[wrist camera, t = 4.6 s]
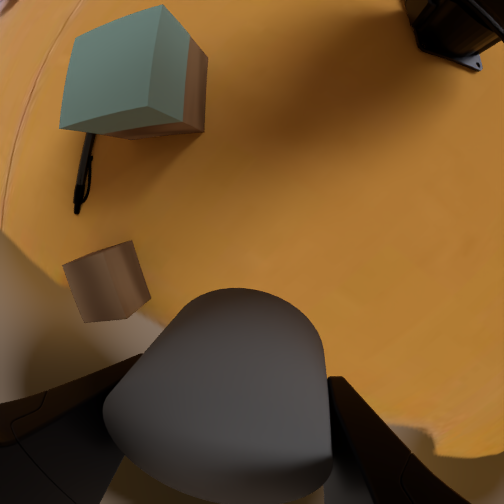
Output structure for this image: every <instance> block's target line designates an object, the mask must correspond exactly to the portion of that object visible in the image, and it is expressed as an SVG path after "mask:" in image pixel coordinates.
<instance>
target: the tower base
mask: <svg viewBox="0 0 504 504" xmlns="http://www.w3.org/2000/svg"><path fill="white" fill-rule="evenodd" d="M207 67H208V57H207V56H206V55H205V53H204V52H203V51H202V50H201V49H200V47H199V46H198V45H197V44H196V42H195V41H194V40H193V39H192V38H191V37H190V41H189V50H188V59H187V69H186V80H185V93H184V108H183V122H176V123H168V124H160V125H152V126H146V127H139V128H133V129H127V130H122V131H116V132H111V133H106V134H102V135H107V136H113V137H118V138H124V139H129V140H135V139H142V138H149V137H157V136H166V135H175V134H186V133H199V132H204V123H205V100H206V82H207Z"/></svg>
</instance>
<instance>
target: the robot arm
mask: <svg viewBox="0 0 504 504" xmlns="http://www.w3.org/2000/svg"><path fill="white" fill-rule="evenodd" d="M405 1H406V4H405V6H406V10H407V13H408V17H409V20H410V24H411V26H412V27H413V29H414V33H415V38H416V42H417V46H418V48H419V49H420V50H421V51H423V52H426V53H429V54H432V55H435V56H439V57H442V58H444V59H447V60H450V61H453V62H456V63H458V64H461V65H463V66H466V67H468V68H471V69H473V70H475V71H478V72H479V71H481V70H482V69H483V68H482V63H481V59H480V55H479V54H480V53H482V52H483V51H485V50H487V49H488V48H490V47H491V46H493V45H495V44H496V43H498V42H500V41H501V40H502V41H503V43H504V0H405ZM422 44H423V45H424V46H425V47H426V48H425V47H423V46H422ZM142 355H143V354H138V355H136V356H133V357H131V358H129V359H126V360H124V361H121V362H119V363H116V364H114V365H112V366H109V367H107V368H104V369H102V370H99V371H97V372H94V373H92V374H89V375H87V376H84V377H81V378H79V379H76V380H73V381H71V382H68V383H65V384H63V385H60V386H57V387H55V388H52V389H49V390H48V391H43V392H41V393H38V394H35V395H32V396H28V397H25V398H22V399H18V400H14V401H10V402H5V403H1V404H0V504H100V502H101V500H102V498H103V496H104V494H105V492H106V490H107V488H108V486H109V484H110V482H111V480H112V478H113V476H114V474H115V473H116V471H117V469H118V467H119V465H120V463H121V461H122V459H123V457H124V455H125V454H124V453H123V452H122V451H121V450H120V449H119V448H118V446H117V445H116V444H115V442H114V441H113V439H112V438H111V436H110V434H109V432H108V430H107V428H106V426H105V422H104V419H103V404H104V402H105V399H106V397H107V396H108V395H109V394H110V392H111V391H112V390H113V389H114V388H115V386H116V385H117V384H118V383H119V382H120V381H121V379H122V378H123V377H124V376H125V375H126V373H127V372H128V371H129V370H130V369H131V368H132V366H133V365H134V364H135V363H136V362H137V361H138V359H139V358H140V357H141V356H142ZM327 385H328V396H329V407H330V420H331V435H332V452H333V469H332V472H331V475H330V476H329V478H328V479H327V481H326V482H325V483H324V484H323V486H324V503H325V504H471V503H470V502H469V501H467V500H466V499H465V498H463V497H462V496H460V495H459V494H458V493H456V492H455V491H454V490H453V489H451V488H450V487H449V486H447V485H446V484H445V483H444V482H443V481H441V480H440V479H439V478H438V477H437V476H435V475H434V474H433V473H432V472H431V471H430V470H429V469H428V468H427V467H426V466H425V465H424V464H423V463H422V462H421V461H420V460H419V459H418V458H417V457H416V456H415V455H414V454H413V453H411V450H410V449H409V448H408V447H407V446H406V445H405V444H404V443H403V442H402V441H401V440H400V439H399V438H398V436H396V434H395V433H394V432H393V431H392V430H391V429H390V428H389V427H388V426H387V425H386V423H385V422H384V421H383V420H382V419H381V418H380V417H379V416H378V415H377V414H376V413H375V411H374V410H373V409H372V408H371V407H370V406H369V405H368V404H367V403H366V402H365V401H364V399H363V398H362V397H361V396H360V395H359V394H358V393H357V392H356V391H355V389H354V388H353V387H352V386H351V385H350V384H349V383H348V382H347V381H346V379H345V378H344V377H342V376H330V377H328V379H327Z"/></svg>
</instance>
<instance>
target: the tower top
mask: <svg viewBox="0 0 504 504" xmlns="http://www.w3.org/2000/svg"><path fill="white" fill-rule="evenodd" d="M189 41H190V35H189V33H188V32H187V31H186V30H185V29H184V28H183V26H182V25H181V24H180V23H179V22H178V21H177V20H176V18H175V17H174V16H173V15H172V14H171V13H170V12H169V11H168V10H167V8H166V7H165V6H164V5H159V6H155V7H152V8H149V9H145V10H142V11H139V12H136V13H133V14H130V15H128V16H125V17H122V18H120V19H117V20H114V21H112V22H109V23H107V24H105V25H102V26H100V27H98V28H95V29H93V30H91V31H89V32H87V33H85V34H83V35H81V36H79V37H77V38H75V42H74V46H73V49H72V53H71V58H70V62H69V67H68V71H67V76H66V82H65V87H64V93H63V100H62V107H61V115H60V125H59V129H66V130H74V131H81V132H88V133H95V134H101V135H102V134H106V133H111V132H116V131H122V130H127V129H133V128H139V127H146V126H152V125H160V124H168V123H176V122H183V108H184V93H185V80H186V69H187V59H188V50H189Z"/></svg>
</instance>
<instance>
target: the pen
mask: <svg viewBox="0 0 504 504" xmlns="http://www.w3.org/2000/svg"><path fill="white" fill-rule="evenodd" d="M95 136H96V134H95V133H88V132H87V133H86V137H85V141H84V145H83V150H82V154H81V159H80V164H79V170H78V175H77V181H76V186H75V190H74V199H73V203H74V213H75V214H79V212H80V207H81V204H82V203H84V202H85V201H86V199H87V197H88V194H89V191H90V184H91V162H92V160H93V156H91V152H92V148H93V144H94V140H95ZM87 171H88V187H87V192H86V195H85V197H84V191H85V182H86V177H87ZM83 197H84V198H83Z"/></svg>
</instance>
